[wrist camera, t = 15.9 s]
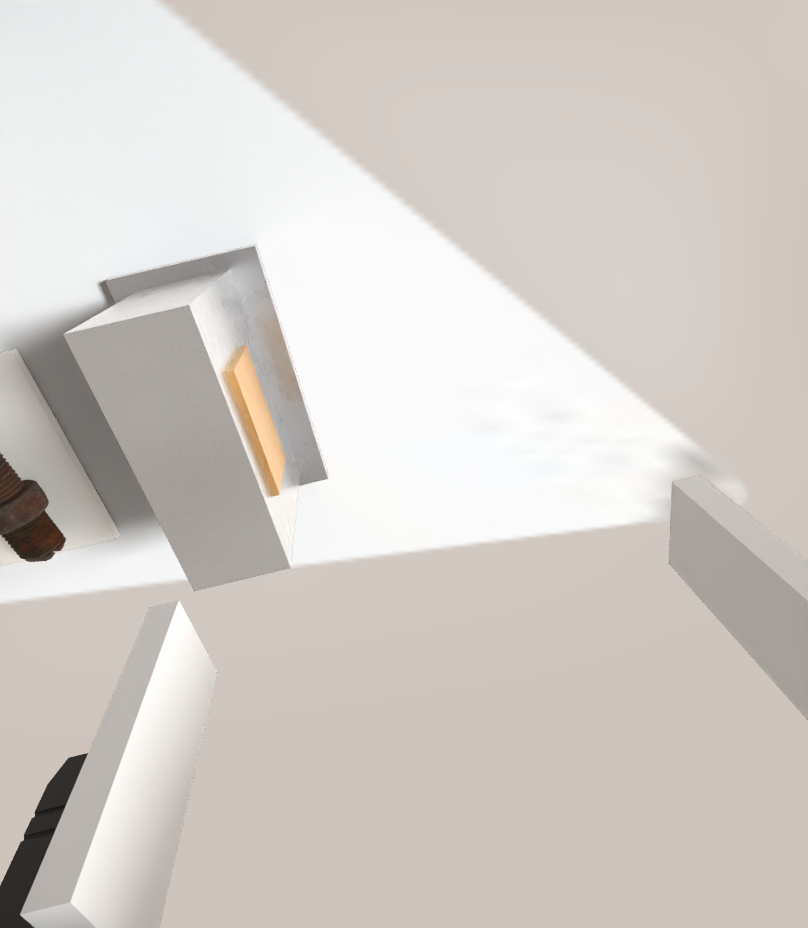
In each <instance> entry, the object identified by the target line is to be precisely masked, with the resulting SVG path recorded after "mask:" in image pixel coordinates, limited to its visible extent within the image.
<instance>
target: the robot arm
mask: <svg viewBox="0 0 808 928" xmlns="http://www.w3.org/2000/svg"><path fill="white" fill-rule="evenodd" d="M669 564H670V566H671V567H672V568H673V569H674V570H675V571H676V572H677V573H678V575H679V576H680V577H681V578H682V579H683V580H684V581H685V582H686V584H687V585H688V586H689V587H690V588H691V589H692V590H693V591H694V593H695V594H696V595H697V596H698V597H699V598H700V599H701V600H702V602H703V603H704V604H705V605H706V606H707V607H708V608H709V609H710V611H711V612H712V613H713V614H714V615H715V616H716V617H717V619H718V620H719V621H720V622H721V623H722V624H723V625H724V626H725V628H726V629H727V630H728V631H729V632H730V633H731V634H732V635H733V637H734V638H735V639H736V640H737V641H738V642H739V643H740V644H741V646H742V647H743V648H744V649H745V650H746V651H747V652H748V653H749V655H751V657H752V658H753V659H754V660H755V661H756V663H757V664H758V665H759V666H760V667H761V668H762V669H763V670H764V672H765V673H766V674H767V675H768V676H769V677H770V678H771V679H772V681H773V682H774V683H775V684H776V685H777V686H778V687H779V688H780V689H781V691H782V692H783V693H784V694H785V695H786V696H787V697H788V699H789V700H790V701H791V702H792V703H793V704H794V705H795V706H796V708H797V709H798V710H799V711H800V712H801V713H802V714H803V715H804V716H805V718H806V719H807V720H808V560H807V559H806V558H805V557H804V556H802V555H801V554H800V553H798V552H797V551H796V550H795V549H793V548H792V547H791V546H789V545H788V544H787V543H786V542H785V541H783V540H782V539H781V538H780V537H778V536H777V535H776V534H774V533H773V532H772V531H771V530H769V529H768V528H767V527H765V526H764V525H763V524H762V523H761V522H759V521H758V520H757V519H755V518H754V517H753V516H752V515H750V514H749V513H748V512H747V511H745V510H744V509H743V508H742V507H740V506H739V505H738V504H737V503H735V502H734V501H733V500H732V499H730V498H729V497H728V496H727V495H725V494H724V493H723V492H721V491H720V490H719V489H718V488H716V487H715V486H714V485H713V484H711V483H710V482H709V481H708V480H706V479H705V478H704V477H703V476H701V475H698V476H694V477H690V478H686V479H682V480H677V481H673V482H672V496H671V520H670V544H669ZM216 677H217V671H216V669H215V667H214V666H213V664H212V662H211V660H210V658H209V656H208V654H207V652H206V651H205V648H204V647H203V645H202V643H201V641H200V639H199V637H198V635H197V633H196V632H195V630H194V628H193V626H192V624H191V622H190V620H189V619H188V617H187V615H186V613H185V611H184V609H183V607H182V605H181V604H180V602H179V600H178V601H174V602H170V603H166V604H161V605H157V606H153V607H150V608H149V610H148V612H147V615H146V617H145V619H144V622H143V624H142V627H141V629H140V631H139V634H138V636H137V639H136V641H135V643H134V646H133V648H132V650H131V653H130V655H129V657H128V660H127V662H126V665H125V667H124V669H123V672H122V674H121V676H120V679H119V681H118V684H117V686H116V688H115V691H114V693H113V695H112V698H111V700H110V703H109V705H108V707H107V710H106V712H105V714H104V717H103V719H102V721H101V724H100V726H99V729H98V731H97V733H96V736H95V738H94V740H93V743H92V745H91V747H90V750H89V752H88V753H87V754H83V755H78V756H74V757H70V758H68V759H67V761H66V762H65V763H64V764H63V766H62V767H61V768H60V770H59V771H58V772H57V773H56V775H55V776H54V777H53V778H52V780H51V781H50V782H49V784H48V785H47V787H46V789H45V791H44V794H43V796H42V798H41V800H40V802H39V804H38V806H37V809H36V811H35V817H34V818H32V819H31V821H30V823H29V826H28V828H27V830H26V832H25V834H24V841H22V842H21V843H20V845H19V847H18V850H17V851H16V853H15V856H14V858H13V860H12V862H11V864H10V866H9V869H8V870H7V873H6V875H5V877H4V879H3V881H2V883H1V886H0V928H159V927H160V923H161V919H162V914H163V910H164V905H165V901H166V896H167V892H168V888H169V884H170V879H171V875H172V870H173V866H174V862H175V857H176V853H177V848H178V844H179V839H180V835H181V831H182V826H183V822H184V818H185V813H186V809H187V804H188V800H189V796H190V791H191V787H192V783H193V778H194V773H195V769H196V765H197V760H198V756H199V752H200V747H201V743H202V739H203V734H204V730H205V725H206V721H207V717H208V712H209V708H210V703H211V699H212V695H213V690H214V686H215V681H216Z"/></svg>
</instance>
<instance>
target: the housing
mask: <svg viewBox="0 0 808 928" xmlns="http://www.w3.org/2000/svg"><path fill="white" fill-rule="evenodd" d="M105 282H106V284H107V286H108V289H109V291H110V293H111V295H112V298H113V300H114V302H115V305H113V306H111V307H110V308H108V309H106V310H104V311H103V312H101V313H99V314H97V315H96V316H94V317H92V318H90V319H89V320H87V321H85V322H83V323H82V324H80V325H78V326H76V327H75V328H73V329H71V330H69V331H68V332H66V333H64V334H63V336H64V338H65V340H66V342H67V343H68V345H69V347H70V349H71V351H72V353H73V355H74V357H75V359H76V361H77V363H78V365H79V367H80V369H81V371H82V373H83V375H84V377H85V379H86V381H87V383H88V385H89V387H90V388H91V390H92V392H93V394H94V396H95V398H96V400H97V402H98V404H99V406H100V408H101V410H102V412H103V414H104V416H105V418H106V420H107V422H108V424H109V426H110V428H111V430H112V431H113V433H114V435H115V437H116V439H117V441H118V443H119V445H120V447H121V449H122V451H123V453H124V455H125V457H126V459H127V461H128V463H129V465H130V467H131V469H132V471H133V473H134V475H135V476H136V478H137V480H138V482H139V484H140V486H141V488H142V490H143V492H144V494H145V496H146V498H147V500H148V502H149V504H150V506H151V508H152V510H153V512H154V514H155V516H156V518H157V520H158V521H159V523H160V525H161V527H162V529H163V531H164V533H165V535H166V537H167V539H168V541H169V543H170V545H171V547H172V549H173V551H174V553H175V555H176V557H177V559H178V561H179V563H180V565H181V566H182V568H183V570H184V572H185V574H186V576H187V578H188V580H189V582H190V584H191V586H192V588H193V590H194V591H197V590H201V589H205V588H210V587H213V586H218V585H222V584H226V583H230V582H234V581H239V580H243V579H247V578H251V577H256V576H260V575H264V574H268V573H272V572H276V571H281V570H285V569H289V568H291V562H292V552H293V542H294V532H295V522H296V512H297V502H298V492H299V486H300V485H304V484H308V483H312V482H316V481H320V480H325V479H328V471H327V468H326V465H325V462H324V459H323V455H322V452H321V449H320V446H319V442H318V439H317V436H316V433H315V430H314V426H313V423H312V420H311V417H310V414H309V410H308V407H307V404H306V401H305V398H304V394H303V391H302V388H301V385H300V381H299V378H298V375H297V372H296V369H295V365H294V362H293V359H292V356H291V353H290V349H289V346H288V343H287V340H286V337H285V333H284V330H283V327H282V324H281V320H280V317H279V314H278V311H277V308H276V304H275V301H274V298H273V295H272V292H271V288H270V285H269V282H268V279H267V275H266V272H265V269H264V266H263V263H262V259H261V256H260V253H259V250H258V247H257V244H255V245H251V246H247V247H242V248H238V249H234V250H229V251H225V252H221V253H217V254H212V255H208V256H204V257H199V258H195V259H191V260H186V261H182V262H178V263H174V264H169V265H165V266H161V267H156V268H152V269H148V270H143V271H139V272H135V273H130V274H126V275H122V276H118V277H113V278H110V279H107V280H105Z"/></svg>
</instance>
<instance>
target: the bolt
mask: <svg viewBox="0 0 808 928" xmlns="http://www.w3.org/2000/svg"><path fill="white" fill-rule="evenodd" d="M48 504H49V501H48V498H47V496H46V494H45V492H44V491H43V490H42V488H41V487H40V486H39V484H38V483H37V482H36V481H34V480H23V481H22V480H21V478H20V477H18V474H17V473H15V470H14V469H12V466H10V465H9V463H8V462H6V459H5V458H3V455H2V454H0V535H2V538H5V541H8V545H11V548H14V549H13V550H14V551H15V552H16V554H17V555H19V558H21V559H25V560H26V561H29V562H35V561H47V560H49V559H51V558H52V557H53V555H54V554H55V552H54V551H61V550H62V548H63V547H64V543H65V542H66V538H65V537H64V535H63V533H61V530H59V528H58V527H57V526H56V524H55V523H53V520H51V518H50V516H48V514H47V513H46V511H45V509H46V508H47V506H48Z"/></svg>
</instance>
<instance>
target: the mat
mask: <svg viewBox="0 0 808 928" xmlns="http://www.w3.org/2000/svg"><path fill="white" fill-rule="evenodd" d="M0 454H2V455H3V458H5V459H6V462H8V463H9V465H10V466H12V469H14V470H15V473H17V474H18V477H20V478H21V480H22V481H23V480H34V481H36V482H37V483H38V484H39V486H40V487H41V488H42V490H43V491H44V492H45V494H46V496H47V498H48V501H49V504H48V506H47V508H46V509H45V511H46V513H47V514H48V516H50V518H51V520H53V523H55V524H56V526H57V527H58V528H59V530H61V533H63V535H64V537H65V538H66V542H65V543H64V547H63V548H62V550H61V551H54V552H55V554H56V553H60V552H64V551H68V550H73V549H77V548H81V547H85V546H89V545H94V544H98V543H102V542H106V541H110V540H115V539H117V538H118V536H119V534H120V532H119V531H118V529H117V527H116V525H115V524H114V522H113V520H112V518H111V516H110V515H109V513H108V511H107V509H106V507H105V506H104V504H103V502H102V500H101V499H100V497H99V495H98V493H97V491H96V490H95V488H94V486H93V484H92V482H91V481H90V479H89V477H88V475H87V474H86V472H85V470H84V468H83V466H82V465H81V463H80V461H79V459H78V457H77V456H76V454H75V452H74V450H73V449H72V447H71V445H70V443H69V441H68V440H67V438H66V436H65V434H64V432H63V431H62V429H61V427H60V425H59V424H58V422H57V420H56V418H55V416H54V415H53V413H52V411H51V409H50V407H49V406H48V404H47V402H46V400H45V399H44V397H43V395H42V393H41V391H40V390H39V388H38V386H37V384H36V382H35V381H34V379H33V377H32V375H31V374H30V372H29V370H28V368H27V366H26V365H25V363H24V361H23V359H22V357H21V356H20V354H19V352H18V350H17V349H14V350H9V351H5V352H1V353H0ZM13 549H14V548H11V545H8V541H5V538H2V535H0V567H1V566H6V565H10V564H14V563H18V562H22V561H26V560H25V559H21V558H19V555H17V554H16V552H15V551H14V550H13Z"/></svg>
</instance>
